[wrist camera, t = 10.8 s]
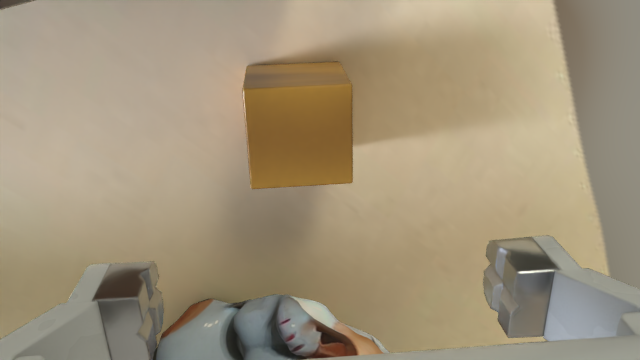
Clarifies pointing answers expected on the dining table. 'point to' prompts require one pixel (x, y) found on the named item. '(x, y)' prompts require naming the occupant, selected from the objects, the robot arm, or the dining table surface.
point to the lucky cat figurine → (262, 332)
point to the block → (298, 124)
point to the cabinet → (12, 3)
